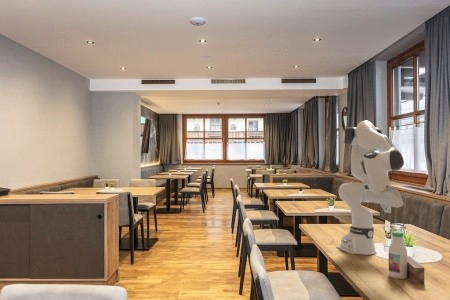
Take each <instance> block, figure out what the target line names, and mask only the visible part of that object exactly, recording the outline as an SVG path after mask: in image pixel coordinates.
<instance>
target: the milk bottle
mask: <svg viewBox="0 0 450 300" xmlns="http://www.w3.org/2000/svg"><path fill="white" fill-rule="evenodd" d="M391 235H392V241H391V243H390V245H389V248H388V276H389V277H390V278H393V279H396V280H406V279H408V277H407V256H408V251H407V247H406V244H405V242H404V232H402V231H392V232H391Z"/></svg>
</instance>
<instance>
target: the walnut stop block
mask: <svg viewBox="0 0 450 300" xmlns="http://www.w3.org/2000/svg"><path fill="white" fill-rule="evenodd" d="M407 279H409V280H410V282H412V283H413V284H414V285H425V267H423V265H421V263H419V262H417V261H416V260H415V259H414V258H413V257H412V256H410V255H409V256H408V255H407Z"/></svg>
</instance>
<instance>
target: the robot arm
mask: <svg viewBox="0 0 450 300" xmlns="http://www.w3.org/2000/svg"><path fill="white" fill-rule="evenodd" d="M382 131H383V130H382V129H381V128H380V127H376V126H375V125H374V123H373V122H372V121H370V120H362V121H360V122H358V124H357V125H356V127H355V126H353V127H352V126H348V127H345V128H344V129H343V131H342V134H341V136H342V137H341V139H342V141H343V143H344V144H345V145H348V146H352V148H351V152H350V172H351V175H352V176H353V177H354V178H356V179H358V180H360V181H361V182H344V183H342V184H340V186H339V187H338V190H337V192H338V193H337V194H338V196H339V198H340V200H341V201H343V202H344V203H345V204H346V205H347V206H348V208H349V210H350V214H351V226H348V229H349V231H348V232H347V233H346V234H344V235H343V236H342V237H341V239H340V244H336V249H338V250H342V251H343V252H345V253H348V254H351V255H355V254H356V255H365V256H369V255H375V254H376V253H377V251H376V246H375V239H374V233H375V232H374V231H375V228H374V218H373V217H374V215H373V213H372V211H371V210H370V209H368V208H366V207H364V206H362V203H375V204H379V205H380V208H382V209H383V212H384V213H385V214H386V213H387V214H391V213H392V208H401V207H402V206H404V200H403V198H402V195H401V193H400V191H399V190H398V189H397V188H396V187H394V186H392V184H391V181H390V177H389V175H388V174H387V173H389V172H391V171H392V172H395V171H400V170H401V169H402V168H403V166H404V165H405V160H404V157H403V154H402V153H401V151H400V150H399V149H398V148H396V147H395V145H394V144H393V142H392V141H391V140H390V139H389V138H388V136H387V135H386V134H383V132H382ZM378 150H385V151H382V152H380V151H378Z"/></svg>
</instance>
